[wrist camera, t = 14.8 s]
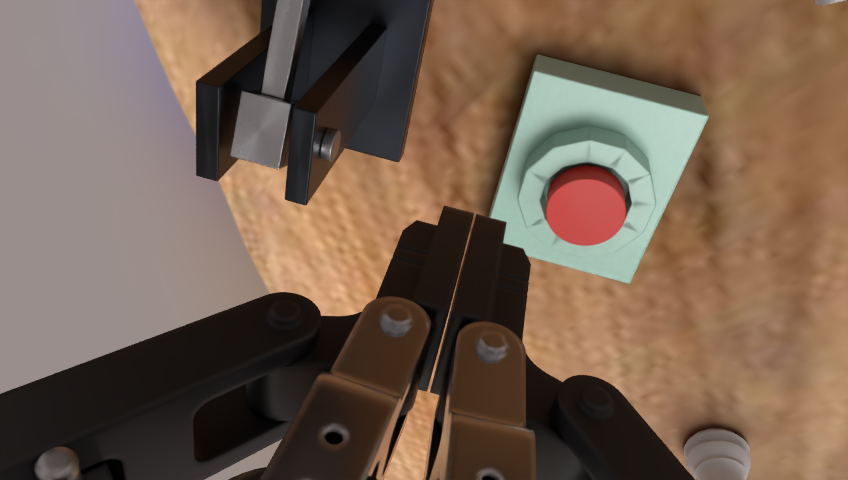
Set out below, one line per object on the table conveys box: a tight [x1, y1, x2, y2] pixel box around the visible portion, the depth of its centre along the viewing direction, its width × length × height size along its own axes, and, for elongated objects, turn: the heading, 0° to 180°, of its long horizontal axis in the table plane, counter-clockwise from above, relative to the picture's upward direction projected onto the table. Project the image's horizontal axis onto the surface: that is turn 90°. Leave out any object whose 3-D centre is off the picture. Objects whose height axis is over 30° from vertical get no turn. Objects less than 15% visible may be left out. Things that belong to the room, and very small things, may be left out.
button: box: [546, 165, 626, 246], centre depth 35 cm, size 4×4×2 cm
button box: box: [488, 54, 709, 284], centre depth 37 cm, size 11×9×4 cm
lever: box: [230, 0, 310, 169], centre depth 28 cm, size 12×5×2 cm, turn 169°
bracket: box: [196, 0, 434, 205], centre depth 33 cm, size 11×9×13 cm
